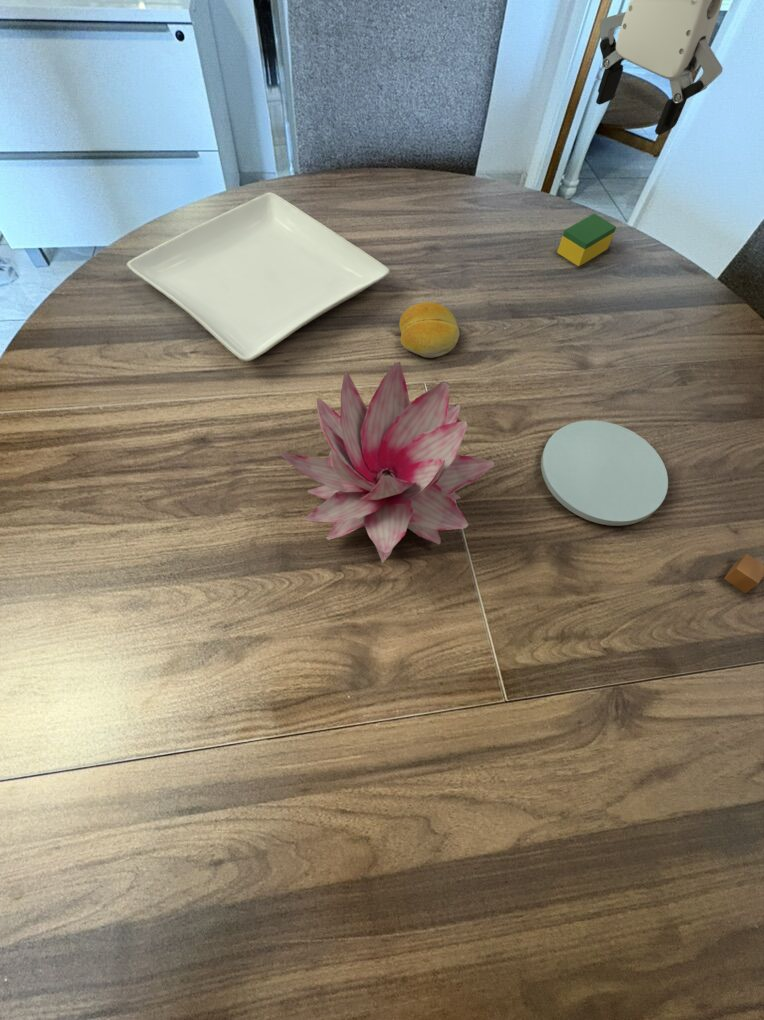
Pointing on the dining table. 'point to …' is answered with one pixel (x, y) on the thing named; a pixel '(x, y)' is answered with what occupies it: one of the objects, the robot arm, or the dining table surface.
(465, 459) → the decorative flower
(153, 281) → the square plate
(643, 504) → the plate
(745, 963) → the dining table surface
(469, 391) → the dining table surface
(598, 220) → the sponge
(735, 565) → the small brown block
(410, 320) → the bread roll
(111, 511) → the dining table surface
